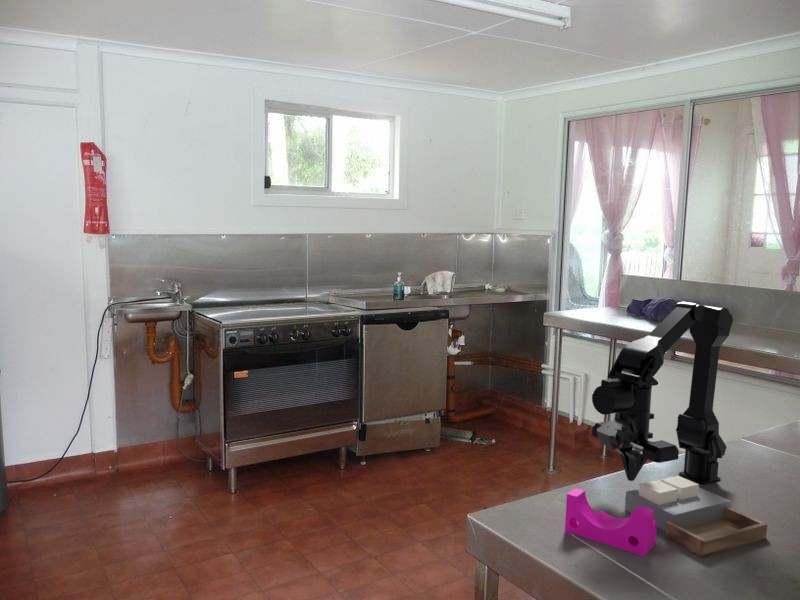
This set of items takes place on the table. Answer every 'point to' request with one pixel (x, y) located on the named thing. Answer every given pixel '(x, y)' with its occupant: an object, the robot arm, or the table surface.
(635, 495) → the board
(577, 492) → the toy block
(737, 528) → the box
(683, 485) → the tile
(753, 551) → the table surface
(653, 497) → the tile
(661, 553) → the table surface
